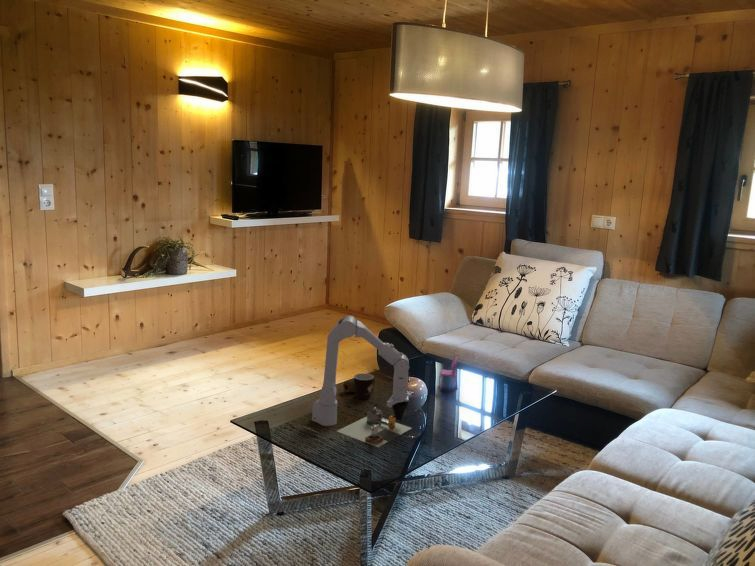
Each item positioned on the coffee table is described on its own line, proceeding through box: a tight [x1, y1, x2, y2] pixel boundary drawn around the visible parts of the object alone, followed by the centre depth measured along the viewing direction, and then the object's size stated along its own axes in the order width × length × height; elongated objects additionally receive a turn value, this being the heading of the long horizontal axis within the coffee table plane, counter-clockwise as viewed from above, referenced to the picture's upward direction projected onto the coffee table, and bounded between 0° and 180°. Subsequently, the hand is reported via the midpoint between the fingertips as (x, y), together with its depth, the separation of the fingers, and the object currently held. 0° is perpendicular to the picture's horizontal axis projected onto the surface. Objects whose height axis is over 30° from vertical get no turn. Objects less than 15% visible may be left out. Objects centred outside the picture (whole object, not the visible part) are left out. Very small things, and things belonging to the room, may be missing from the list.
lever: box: [381, 414, 397, 429], centre depth 239 cm, size 6×3×4 cm, turn 53°
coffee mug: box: [353, 372, 375, 400], centre depth 270 cm, size 12×9×10 cm
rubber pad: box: [378, 429, 401, 442], centre depth 232 cm, size 7×7×1 cm
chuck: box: [366, 406, 383, 426], centre depth 242 cm, size 6×6×6 cm
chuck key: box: [371, 425, 379, 440], centre depth 226 cm, size 2×4×6 cm, turn 143°
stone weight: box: [342, 377, 376, 394], centre depth 278 cm, size 15×7×7 cm, turn 131°
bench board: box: [336, 416, 413, 448], centre depth 237 cm, size 20×22×1 cm
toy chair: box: [438, 356, 459, 391], centre depth 287 cm, size 8×9×15 cm
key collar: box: [365, 435, 384, 445], centre depth 227 cm, size 5×5×2 cm
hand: (398, 418), depth 241 cm, fingers closed
